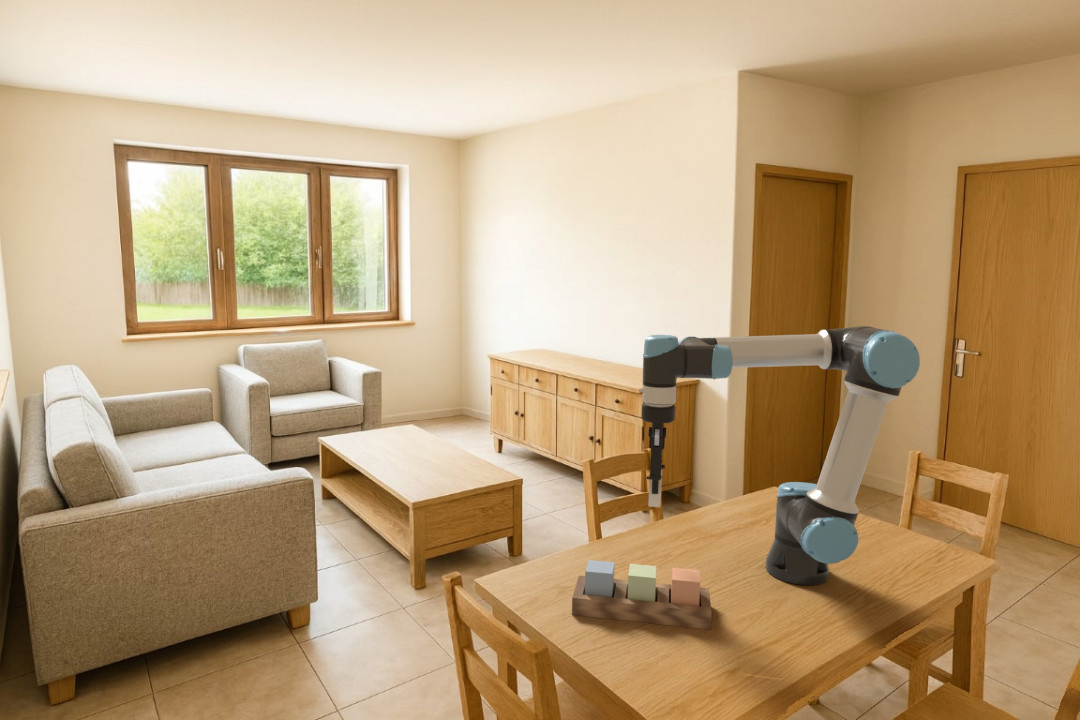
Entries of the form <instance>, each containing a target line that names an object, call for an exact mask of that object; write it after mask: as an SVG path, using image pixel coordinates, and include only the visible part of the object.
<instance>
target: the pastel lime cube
mask: <svg viewBox="0 0 1080 720" xmlns="http://www.w3.org/2000/svg"><path fill="white" fill-rule="evenodd" d="M627 580H628V598H627V599H632V600H642V601H651V602H655V591H656V583H657V565H648V564H647V565H646V564H636V563H629V569H628V574H627Z"/></svg>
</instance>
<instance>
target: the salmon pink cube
mask: <svg viewBox="0 0 1080 720" xmlns="http://www.w3.org/2000/svg"><path fill="white" fill-rule="evenodd" d="M670 585H671V604H681V605H691V606H699V598H700V587H701V573H700V570H699V569H691V568H690V569H689V568H678V567H671V583H670Z"/></svg>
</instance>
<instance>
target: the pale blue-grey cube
mask: <svg viewBox="0 0 1080 720" xmlns="http://www.w3.org/2000/svg"><path fill="white" fill-rule="evenodd" d="M584 572H585V575H584V576H585V595H593V596H602V597H612V598H613V592H614V579H615V562H612V561H605V560H603V561H602V560H593V559H588V561H587V565H586V568H585V571H584Z"/></svg>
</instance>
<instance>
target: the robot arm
mask: <svg viewBox="0 0 1080 720" xmlns="http://www.w3.org/2000/svg"><path fill="white" fill-rule="evenodd" d="M642 361H643V362H642V387H641V388H639V392H640V393H642V396H641V399H642V400H641V401H642V402H643V403H642V404H641V412H640V414H641V420H642V421H644V422H646V423H651V424H652V426H648V438H649V442H648V448H649V449H650V465H649V466H650V468H649V476H646V480H648V507H651V508H661V504H662V503H661V502H662V501H661V500H662V499H661V498H662V483H663V482H662V481H663V469H665V468H666V465H665V464H663V450H664V449H665V441H666V437H667V427H666V426H665V424H670V423H673V422H674V421H675V420H676V405H675V404H676V402H677V379H709V380H710V379H711V380H716V379H718V380H719V379H727V378H729V377H730V375H731V374H732V371H733V369H735V368H736V369H737V368H768V367H769V368H771V367H773V368H774V367H800V366H801V367H802V366H807V367H809V366H819V368H820V369H821V370H838V371H839V370H840V371H844V372H846V373H845V376H844V379H843V383H844V385H845V386H846V388H847V394H846V396H845V399H844V402H843V405H842V407H841V411H840V413H839V416H838V420H837V424H836V426H835V429H834V432H833V435H832V438H831V441H830V444H829V447H828V450H827V454H826V457H825V459H824V462H823V465H822V469H821V471H820V475H819V478H818V481H817V483H810V482H801V481H788V482H783V483H781V484H780V485H779V486H778V489H777V494H776V511H775V523H774V524H775V526H774V527H775V528H774V540H773V541H772V544H771V545H770V549H769V551H768V554H767V555H766V558H765V570H766V571H767V572H768V574H770V575H771V576H773V577H774V578H776V579H778V580H779V581H784V582H786V583H790V584H795V585H802V586H815V585H816V586H817V585H820V584H823V583H825V582H827V581H828V580H829V577H830V574H829V573H830V567H829V564H837V563H840V562H842V561H845V560H847V559H849V558H850V557H851V556H852V555H853V554H854V553H855V551H856V549H857V548H858V544H859V540H860V539H859V533H858V531H857V530H858V529H857V528H856V526H855V523H856V521H857V518H858V516H859V512H860V510H859V508H858V505H857V504H856V499H857V495H858V492H859V489H860V485H861V483H862V480H863V478H864V474H865V471H866V468H867V465H868V462H869V460H870V457H871V454H872V451H873V449H874V445H875V443H876V440H877V436H878V433H879V430H880V428H881V424H882V422H883V419H884V416H885V413H886V410H887V408H888V404H889V403H890V402H891V401H893V400H895V399H898V398H899V396H900V393H901V390H902V387H904V386H906V385H907V384H908V383H911V382H912V381H913V380H914V379H915V378H916V376H917V374H918V372H919V369H920V366H921V365H920V363H921V357H920V353H919V350H918V349H917V346H916V345H915V343H914V342H913V341H912V340H911V339H910V338H909V337H908V336H907V337H906V336H905V335H903V334H901V333H900V332H896V331H894V330H887V329H882V328H878V327H874V326H873V327H872V326H866V325H862V326H859V325H858V326H852V327H841V328H832V329H831V328H829V329H820V330H819V331H818V332H817V333H813V334H812V333H810V334H809V333H807V334H805V333H804V334H783V335H782V334H781V335H753V336H752V335H751V336H748V335H747V336H726V337H725V336H724V337H723V336H721V337H720V336H718V337H697V336H685V337H683V338H681V339H680V340H679V339H678V336H676V335H671V334H669V335H668V334H667V335H666V334H651V335H648V336H647V337H645V339H644V344H643V354H642ZM664 426H665V427H664Z"/></svg>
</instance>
